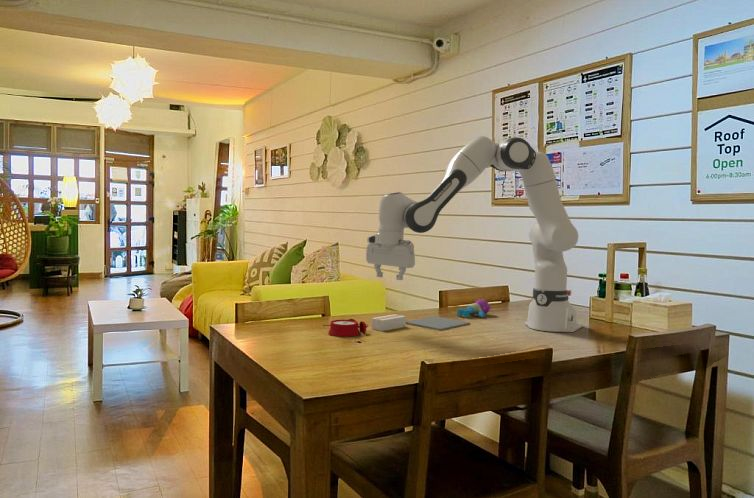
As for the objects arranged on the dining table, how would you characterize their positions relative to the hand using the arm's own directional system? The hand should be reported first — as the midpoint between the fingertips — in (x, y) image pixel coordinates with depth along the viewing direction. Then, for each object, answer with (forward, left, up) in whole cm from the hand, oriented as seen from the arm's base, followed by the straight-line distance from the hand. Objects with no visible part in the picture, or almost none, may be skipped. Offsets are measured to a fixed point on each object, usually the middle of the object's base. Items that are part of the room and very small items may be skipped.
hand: (389, 278), depth 208 cm
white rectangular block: (0, 0, -18) cm, 18 cm away
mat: (-19, +7, -17) cm, 27 cm away
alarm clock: (+17, -3, -18) cm, 25 cm away
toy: (-44, +6, -18) cm, 48 cm away
